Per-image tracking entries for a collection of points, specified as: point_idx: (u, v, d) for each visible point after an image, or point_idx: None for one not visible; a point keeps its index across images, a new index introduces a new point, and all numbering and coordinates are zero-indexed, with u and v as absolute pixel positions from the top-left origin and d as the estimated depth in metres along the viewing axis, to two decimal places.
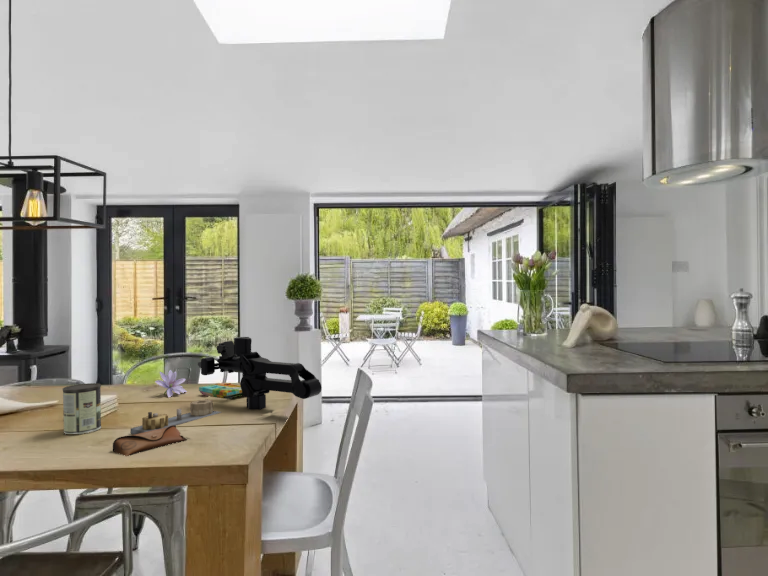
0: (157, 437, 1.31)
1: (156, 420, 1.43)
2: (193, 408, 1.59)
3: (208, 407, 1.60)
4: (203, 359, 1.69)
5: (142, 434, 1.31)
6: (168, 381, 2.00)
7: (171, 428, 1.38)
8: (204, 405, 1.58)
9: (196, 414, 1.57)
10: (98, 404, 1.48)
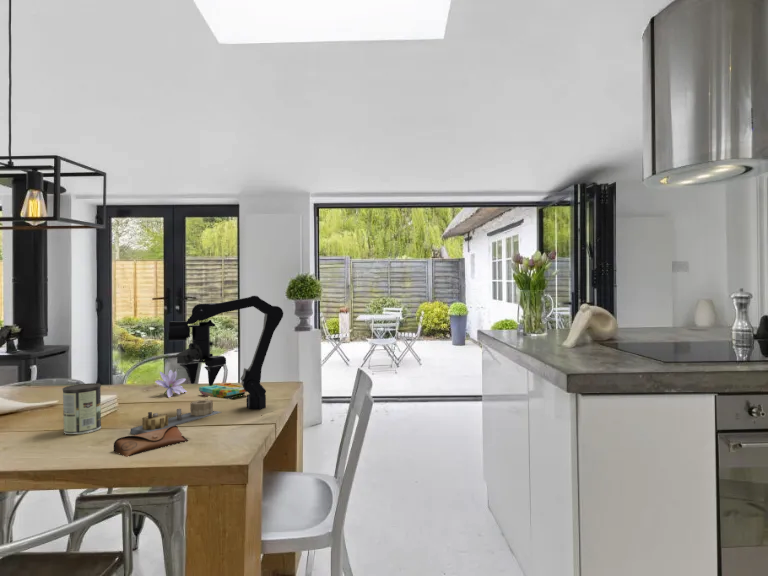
0: (158, 437, 1.31)
1: (156, 420, 1.43)
2: (193, 408, 1.59)
3: (208, 407, 1.60)
4: (213, 362, 1.54)
5: (143, 434, 1.30)
6: (168, 381, 2.00)
7: (172, 428, 1.38)
8: (204, 405, 1.58)
9: (196, 414, 1.57)
10: (98, 404, 1.48)
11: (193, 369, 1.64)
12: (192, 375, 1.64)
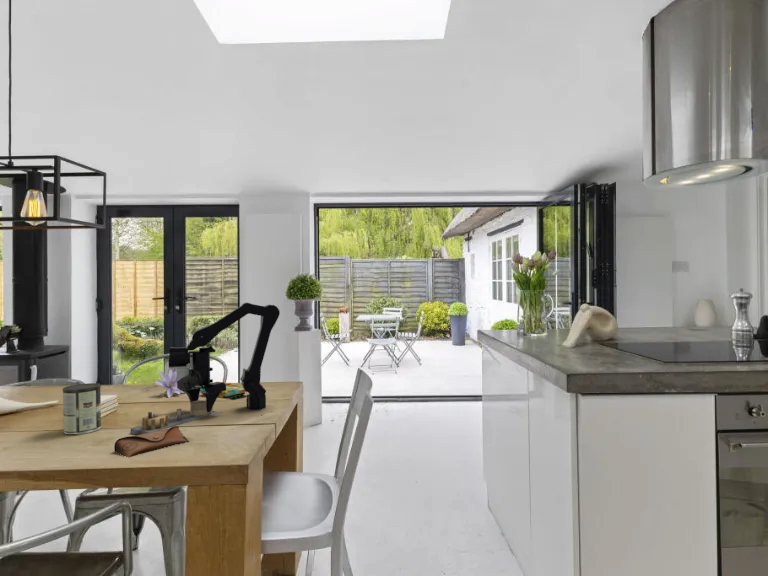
0: (159, 438, 1.30)
1: (156, 420, 1.43)
2: (193, 408, 1.59)
3: None
4: (213, 389, 1.54)
5: (144, 435, 1.30)
6: (168, 381, 2.00)
7: (174, 429, 1.37)
8: (204, 405, 1.58)
9: (196, 414, 1.57)
10: (98, 404, 1.48)
11: (195, 395, 1.64)
12: None
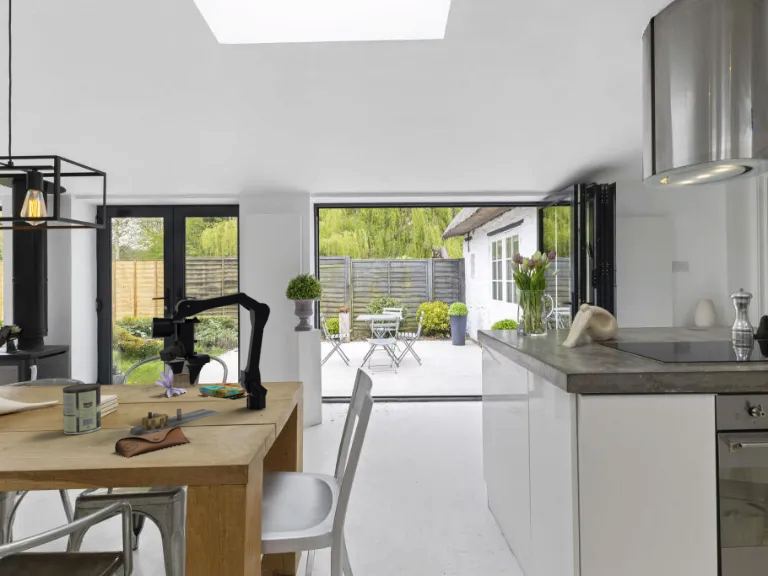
0: (159, 439, 1.30)
1: (156, 420, 1.43)
2: (176, 380, 1.53)
3: None
4: (196, 361, 1.49)
5: (145, 436, 1.29)
6: (168, 381, 2.00)
7: (175, 430, 1.36)
8: (187, 377, 1.53)
9: (178, 386, 1.52)
10: (98, 404, 1.48)
11: (178, 367, 1.58)
12: (178, 373, 1.58)
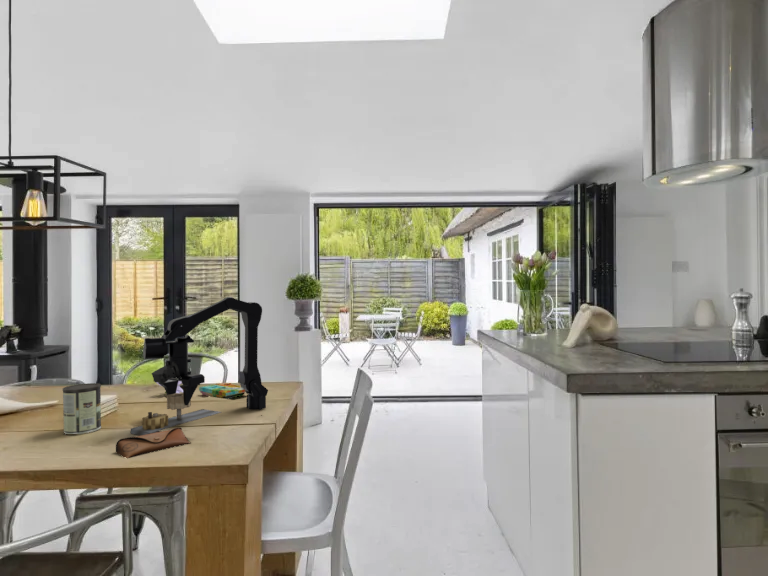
0: (159, 439, 1.29)
1: (156, 420, 1.43)
2: (170, 401, 1.51)
3: None
4: (190, 381, 1.47)
5: (145, 436, 1.29)
6: None
7: (176, 430, 1.36)
8: (181, 398, 1.50)
9: (173, 407, 1.50)
10: (98, 404, 1.48)
11: (172, 387, 1.56)
12: None
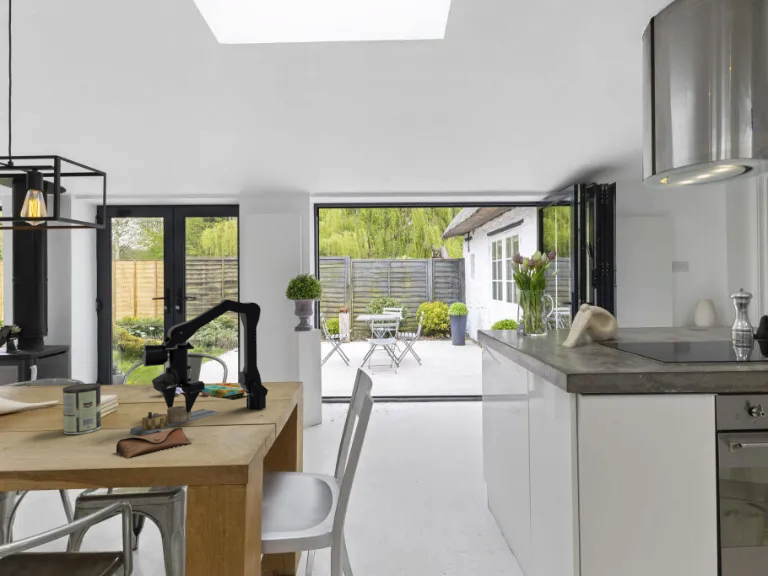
0: (160, 439, 1.29)
1: (156, 420, 1.43)
2: (170, 414, 1.51)
3: (186, 413, 1.52)
4: (190, 388, 1.47)
5: (145, 436, 1.29)
6: None
7: (177, 431, 1.35)
8: (181, 411, 1.50)
9: (173, 421, 1.50)
10: (98, 404, 1.48)
11: (170, 394, 1.56)
12: (170, 400, 1.56)
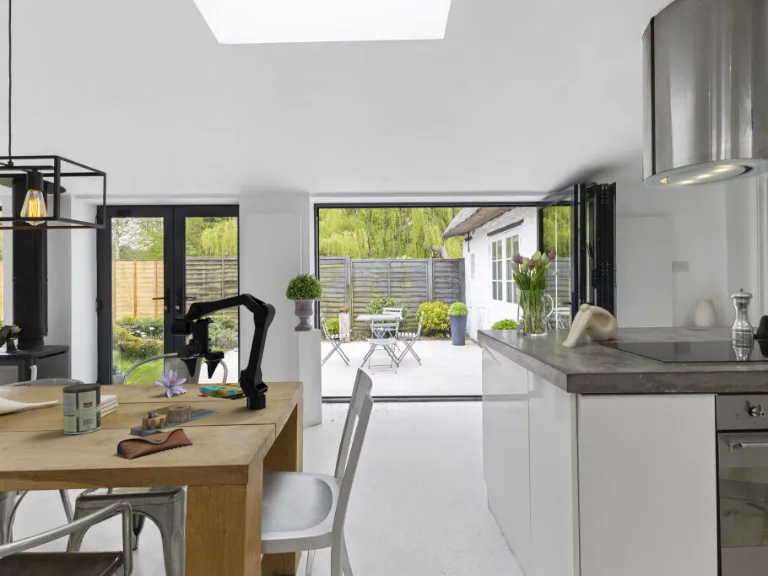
0: (161, 440, 1.28)
1: (156, 420, 1.43)
2: (170, 414, 1.51)
3: (186, 413, 1.52)
4: (212, 357, 1.65)
5: (146, 437, 1.28)
6: (168, 381, 2.00)
7: (177, 431, 1.35)
8: (181, 411, 1.50)
9: (173, 421, 1.50)
10: (98, 404, 1.48)
11: (192, 363, 1.74)
12: (192, 369, 1.74)
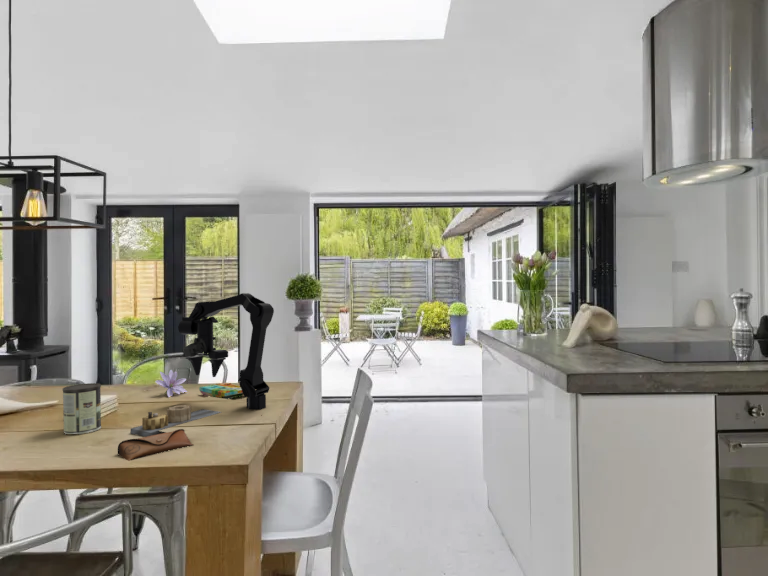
0: (162, 441, 1.27)
1: (156, 420, 1.43)
2: (170, 414, 1.51)
3: (186, 413, 1.52)
4: (216, 355, 1.69)
5: (147, 438, 1.27)
6: (168, 381, 2.00)
7: (178, 432, 1.34)
8: (181, 411, 1.50)
9: (173, 421, 1.50)
10: (98, 404, 1.48)
11: (197, 362, 1.78)
12: (197, 367, 1.78)
